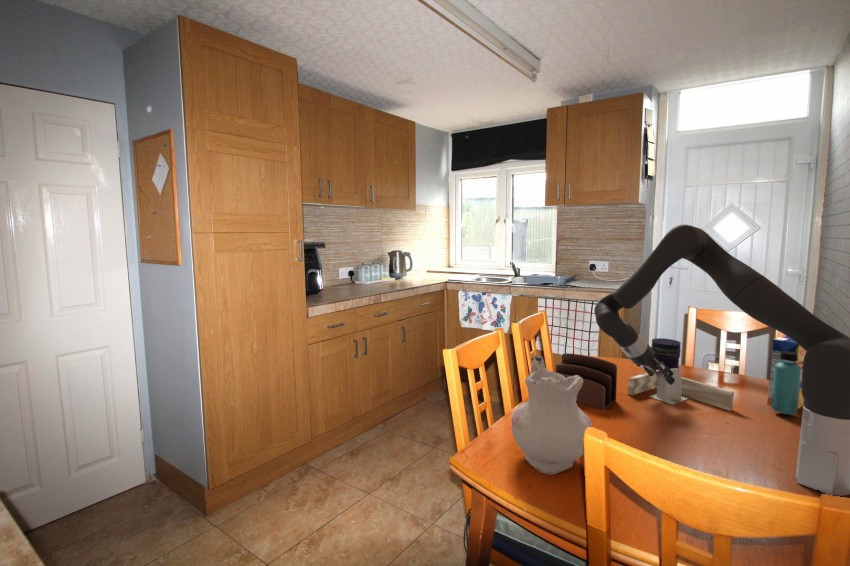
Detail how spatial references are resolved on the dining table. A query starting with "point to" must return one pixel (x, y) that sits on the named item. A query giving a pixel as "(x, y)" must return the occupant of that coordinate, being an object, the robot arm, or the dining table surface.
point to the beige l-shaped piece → (685, 391)
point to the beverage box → (790, 346)
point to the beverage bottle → (786, 384)
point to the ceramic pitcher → (550, 420)
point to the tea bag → (670, 387)
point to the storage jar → (666, 351)
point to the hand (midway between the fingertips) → (662, 378)
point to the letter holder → (591, 379)
